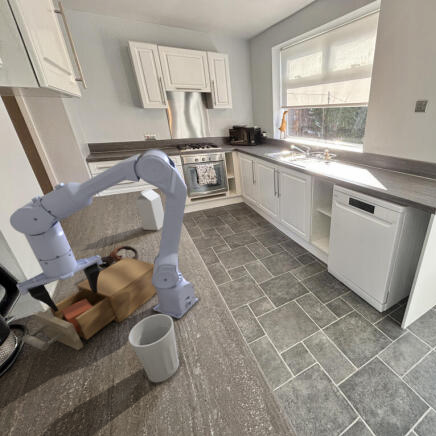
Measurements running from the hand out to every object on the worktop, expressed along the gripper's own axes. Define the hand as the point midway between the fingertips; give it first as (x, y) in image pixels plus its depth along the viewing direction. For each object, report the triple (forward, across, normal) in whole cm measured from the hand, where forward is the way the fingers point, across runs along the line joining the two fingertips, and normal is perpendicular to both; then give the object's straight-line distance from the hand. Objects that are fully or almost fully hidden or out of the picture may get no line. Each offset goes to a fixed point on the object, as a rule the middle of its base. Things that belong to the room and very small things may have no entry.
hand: (76, 300), depth 59 cm
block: (+7, 0, 0) cm, 7 cm away
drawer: (+8, -1, 0) cm, 8 cm away
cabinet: (+9, +11, +3) cm, 14 cm away
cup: (+9, +6, -26) cm, 29 cm away
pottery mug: (+9, +16, +23) cm, 29 cm away
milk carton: (+9, +39, +46) cm, 61 cm away
